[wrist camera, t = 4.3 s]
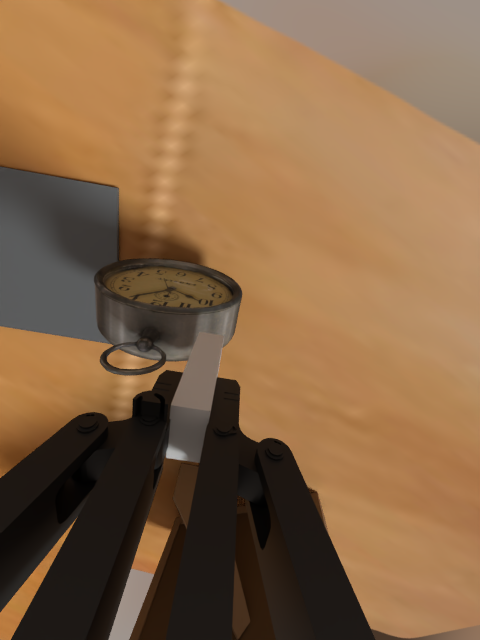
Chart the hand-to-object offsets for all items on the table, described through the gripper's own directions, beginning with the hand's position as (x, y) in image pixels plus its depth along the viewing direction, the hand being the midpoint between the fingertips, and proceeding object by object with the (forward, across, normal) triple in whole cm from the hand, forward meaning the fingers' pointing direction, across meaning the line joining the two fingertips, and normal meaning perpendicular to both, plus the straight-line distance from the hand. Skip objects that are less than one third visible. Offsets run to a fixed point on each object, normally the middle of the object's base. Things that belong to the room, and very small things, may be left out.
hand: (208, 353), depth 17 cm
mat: (+13, -21, 0) cm, 25 cm away
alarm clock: (+13, -4, 0) cm, 14 cm away
